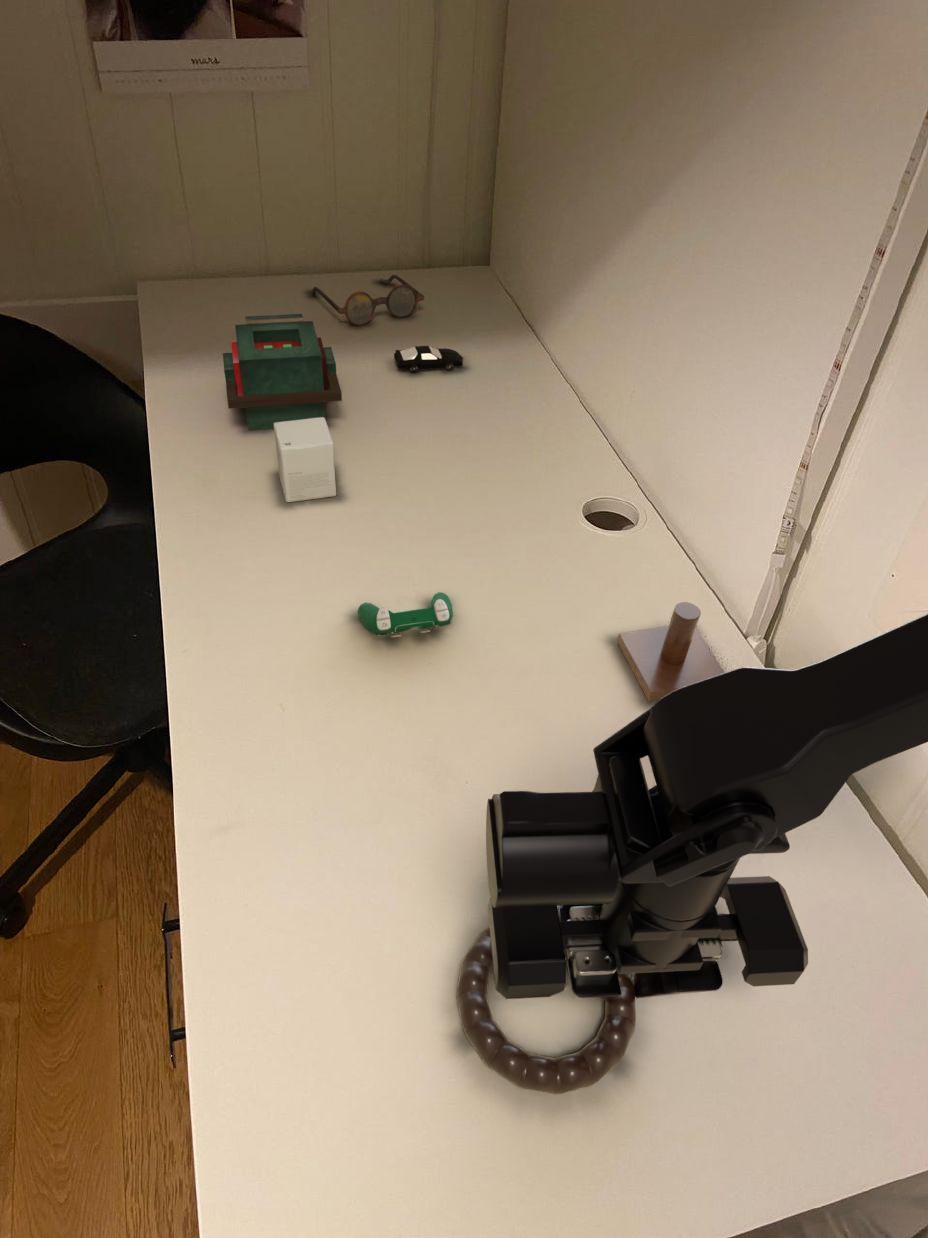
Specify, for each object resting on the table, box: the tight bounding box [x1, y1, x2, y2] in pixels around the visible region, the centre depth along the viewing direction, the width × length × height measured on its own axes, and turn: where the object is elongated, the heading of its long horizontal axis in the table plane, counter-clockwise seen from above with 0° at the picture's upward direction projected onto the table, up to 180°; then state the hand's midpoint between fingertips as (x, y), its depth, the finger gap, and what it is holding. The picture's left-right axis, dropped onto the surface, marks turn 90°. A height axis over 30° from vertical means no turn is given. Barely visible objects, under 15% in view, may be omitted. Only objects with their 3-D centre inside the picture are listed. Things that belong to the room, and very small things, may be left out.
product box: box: [273, 417, 337, 503], centre depth 98 cm, size 6×6×7 cm
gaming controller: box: [357, 591, 454, 639], centre depth 82 cm, size 9×4×6 cm
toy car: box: [393, 345, 464, 374], centre depth 123 cm, size 10×4×3 cm, turn 104°
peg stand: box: [616, 601, 725, 702], centre depth 79 cm, size 8×8×7 cm
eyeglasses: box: [311, 274, 425, 326], centre depth 137 cm, size 15×15×5 cm
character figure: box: [222, 313, 343, 432], centre depth 112 cm, size 14×14×20 cm
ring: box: [456, 911, 637, 1095], centre depth 57 cm, size 12×12×2 cm
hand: (619, 991), depth 57 cm, fingers closed on ring, 2 cm apart
